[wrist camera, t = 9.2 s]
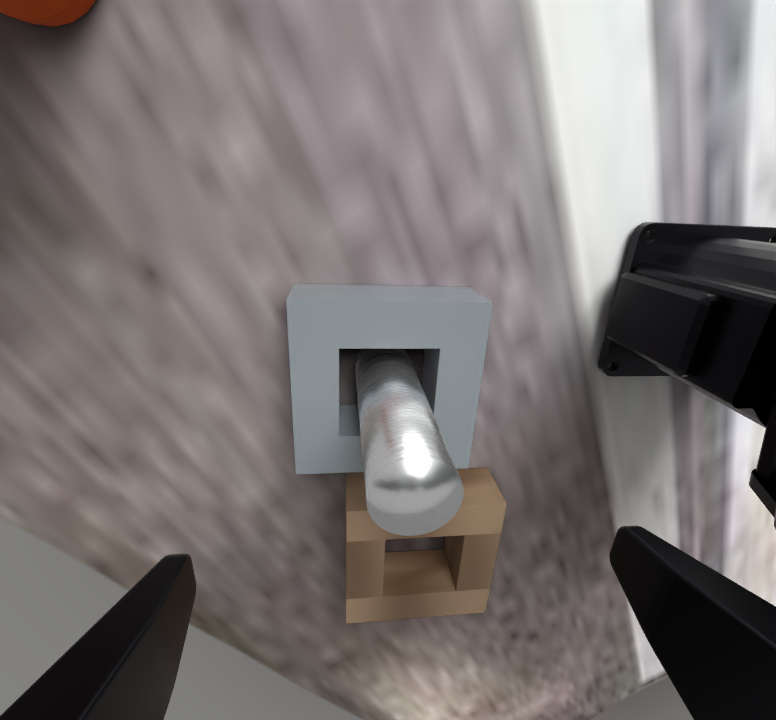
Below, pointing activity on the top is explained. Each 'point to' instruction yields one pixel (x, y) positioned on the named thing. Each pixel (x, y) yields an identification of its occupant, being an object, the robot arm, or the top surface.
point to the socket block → (423, 557)
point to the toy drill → (46, 10)
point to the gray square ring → (382, 331)
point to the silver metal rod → (402, 448)
